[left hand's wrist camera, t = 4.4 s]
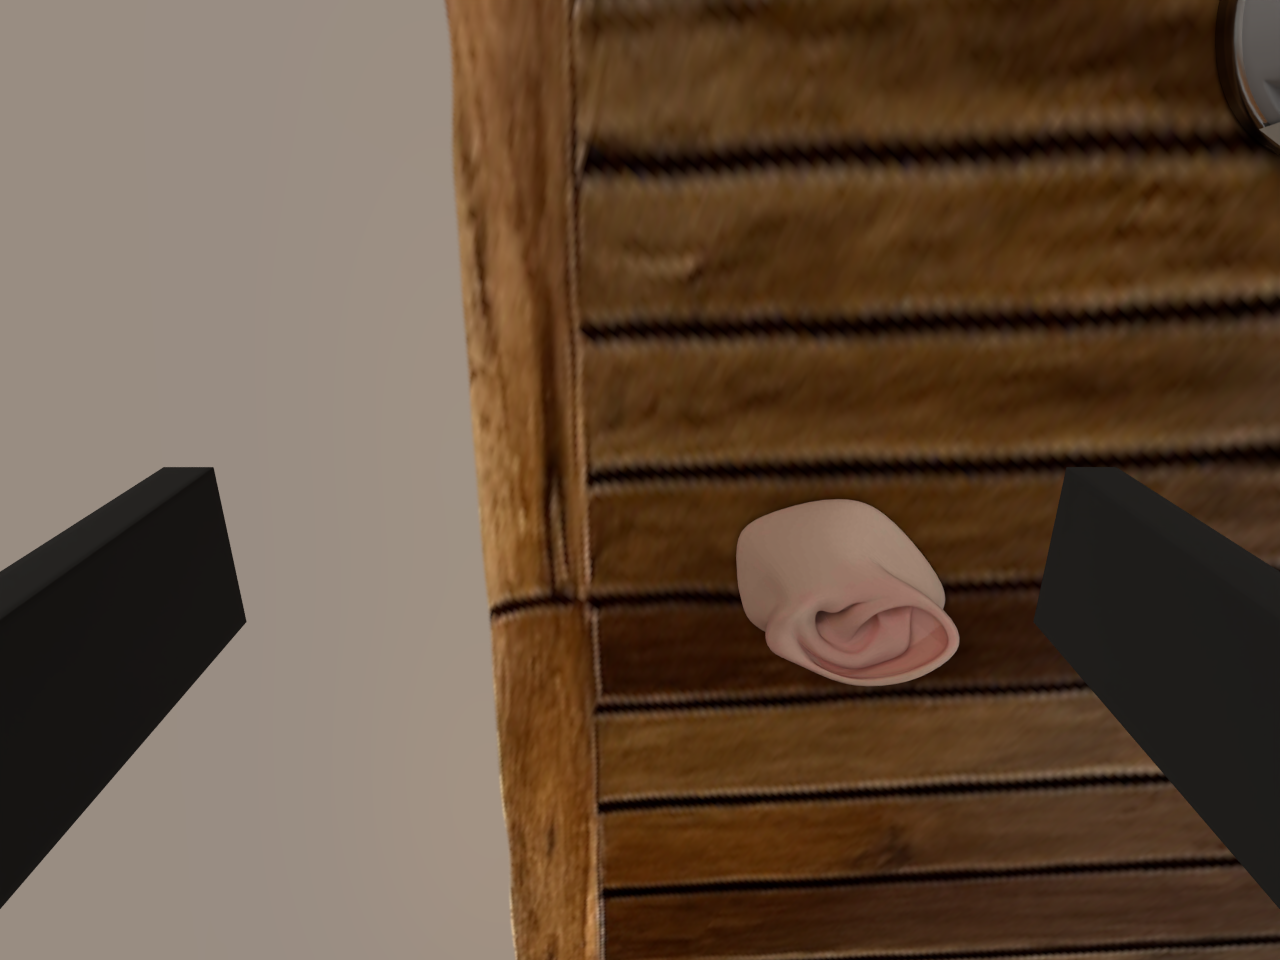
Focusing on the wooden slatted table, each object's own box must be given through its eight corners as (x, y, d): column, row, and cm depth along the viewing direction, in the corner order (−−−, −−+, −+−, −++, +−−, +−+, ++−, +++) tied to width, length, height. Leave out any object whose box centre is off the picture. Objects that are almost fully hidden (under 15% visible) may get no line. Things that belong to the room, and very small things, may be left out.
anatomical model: (707, 579, 45) (889, 480, 43) (702, 548, 49) (869, 455, 47) (814, 738, 50) (986, 655, 47) (802, 698, 53) (961, 619, 51)
